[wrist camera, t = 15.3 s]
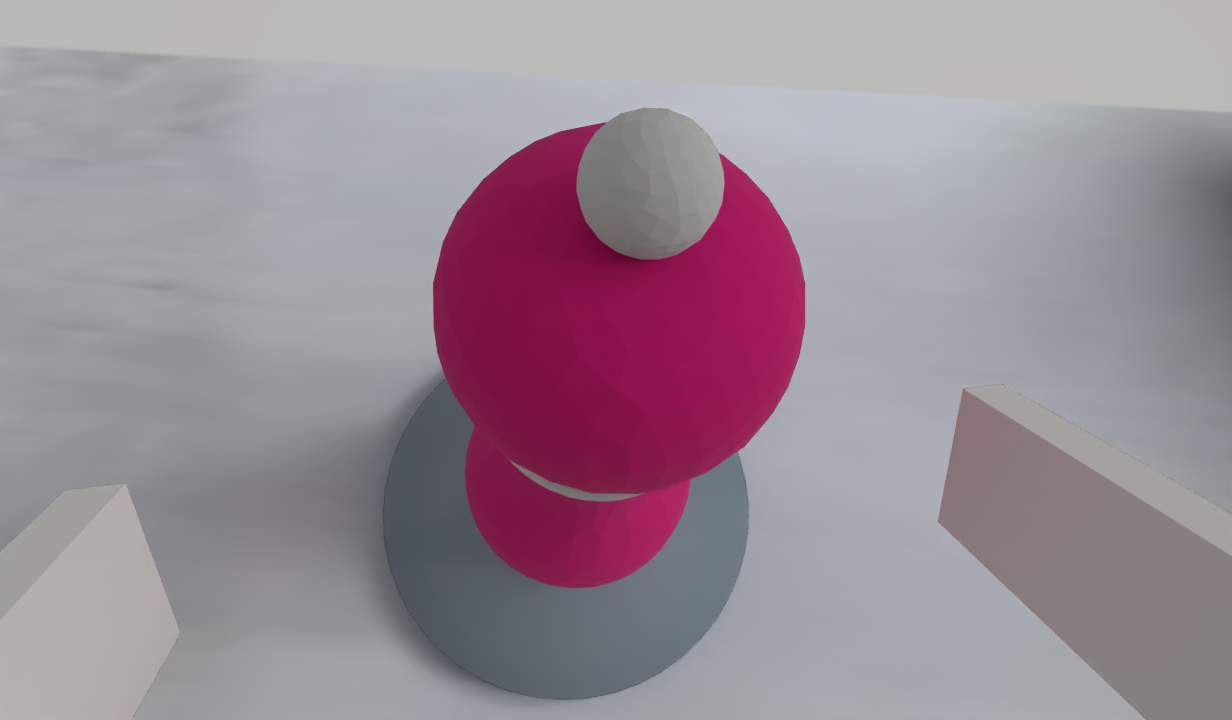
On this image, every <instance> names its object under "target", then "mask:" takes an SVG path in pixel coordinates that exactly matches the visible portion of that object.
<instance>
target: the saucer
mask: <svg viewBox="0 0 1232 720" xmlns="http://www.w3.org/2000/svg"><path fill="white" fill-rule="evenodd" d="M474 427H475V426H474V424H473V423H472V421H471V420H470V418H469V417H468V415H467V414H466V412H465V411H464V409H463V408H462V406H461V405H460V403H459V402H458V400H457V399H456V397H455V396H454V394H453V393H452V390H451V388H450V386H449V384H448V382H447V379H445V380H444V381H442V382H441V383H440V384H439V385H438V386H437V387H436V388H435V389H434V391H433V392H432V393H431V394H430V395H429V396H428V397H427V398H426V399H425V401H424V402H423V403H422V404H421V406H420V407H419V409H418V410H417V412H416V413H415V414H414V416H413V417H412V419H411V420H410V422H409V424H408V426H407V428H406V430H405V431H404V433H403V435H402V437H401V439H400V441H399V443H398V446H397V449H396V451H395V454H394V457H393V460H392V462H391V465H390V470H389V474H388V479H387V483H386V487H385V497H384V508H383V524H384V540H385V545H386V551H387V556H388V562H389V565H390V568H391V571H392V574H393V577H394V580H395V583H396V586H397V589H398V591H399V593H400V595H401V597H402V599H403V601H404V603H405V605H406V607H407V609H408V611H409V612H410V614H411V615H412V617H413V618H414V620H415V621H416V622H417V624H418V625H419V627H420V628H421V630H422V631H423V632H424V634H425V635H426V636H427V637H428V638H429V639H430V640H431V641H432V642H433V643H434V644H435V645H436V646H437V648H438V649H439V650H440V651H441V652H442V653H444V654H445V655H446V656H447V657H449V658H450V659H451V660H452V661H454V662H455V663H456V664H457V665H459V666H460V667H461V668H463V669H464V670H466V671H468V672H469V673H471V674H473V675H475V676H476V677H478V678H480V679H481V680H483V681H485V682H487V683H490V684H492V685H495V686H497V687H500V688H502V689H505V690H507V691H510V692H514V693H518V694H523V695H527V696H531V697H535V698H546V699H557V700H569V699H586V698H592V697H597V696H602V695H607V694H612V693H616V692H618V691H621V690H624V689H627V688H629V687H632V686H635V685H638V684H640V683H642V682H644V681H646V680H647V679H649V678H651V677H653V676H655V675H657V674H659V673H660V672H662V671H664V670H665V669H666V668H668V667H669V666H670V665H672V664H673V663H675V662H676V661H677V660H679V659H680V658H681V657H683V656H684V655H685V654H686V653H687V652H688V651H689V650H690V649H691V648H692V647H693V646H694V645H695V644H696V643H697V642H698V641H699V640H700V639H701V638H702V637H703V636H704V634H705V633H706V632H707V631H708V629H709V628H710V627H711V625H712V624H713V623H714V622H715V620H716V619H717V617H718V616H719V614H720V612H721V611H722V609H723V607H724V605H725V604H726V602H727V600H728V599H729V597H730V594H731V592H732V590H733V587H734V585H735V582H736V580H737V577H738V575H739V572H740V568H741V564H742V561H743V557H744V553H745V548H746V540H747V533H748V497H747V488H746V481H745V477H744V473H743V469H742V465H741V461H740V457H739V455H738V452H736V453H734V454H733V455H732V456H730V457H729V458H727V459H726V460H724V461H723V462H722V463H720V464H719V465H717V466H716V467H714V468H713V469H711V470H710V471H708V472H707V473H705V474H703V475H700V476H698V477H695V478H692V479H691V481H690V488H689V495H688V499H687V502H686V505H685V508H684V512H683V514H682V516H681V518H680V520H679V522H678V524H677V526H676V528H675V530H674V531H673V533H672V535H671V536H670V538H669V539H668V541H667V542H666V543H665V545H664V546H663V547H662V549H661V550H660V551H659V552H658V553H657V554H656V555H655V556H654V557H653V558H652V559H651V560H650V561H649V562H648V563H647V564H645V565H644V566H642V567H641V568H640V569H638V570H637V571H635V572H634V573H632V574H630V575H628V576H626V577H624V578H622V579H620V580H618V581H615V582H611V583H608V584H604V585H600V586H597V587H587V588H566V587H559V586H551V585H547V584H545V583H542V582H539V581H537V580H534V579H531V578H528V577H526V576H525V575H523V574H521V573H520V572H518V571H516V570H515V569H513V568H511V567H510V566H509V565H508V564H507V563H506V562H504V561H503V560H502V559H501V558H500V557H499V556H497V555H496V553H495V552H494V551H493V550H492V549H491V547H490V546H489V545H488V544H487V542H486V541H485V540H484V538H483V536H482V535H481V533H480V531H479V529H478V528H477V526H476V524H475V521H474V518H473V516H472V513H471V510H470V507H469V502H468V497H467V491H466V479H465V464H466V456H467V448H468V445H469V441H470V438H471V435H472V431H473V429H474Z"/></svg>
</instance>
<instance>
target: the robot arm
mask: <svg viewBox="0 0 1232 720" xmlns="http://www.w3.org/2000/svg"><path fill="white" fill-rule="evenodd" d="M938 522H939V523H940V524H941V525H942V526H943V527H944V528H945V529H946V530H947V531H948V532H949V533H950V534H951V535H953V536H954V537H955V538H956V539H957V540H958V541H959V542H960V543H961V544H962V545H963V546H964V547H965V548H966V549H967V550H968V551H969V552H970V553H971V554H973V555H974V556H975V557H976V558H977V559H978V560H979V561H980V562H981V563H982V564H983V565H984V566H985V567H986V568H987V569H988V570H989V571H990V572H991V573H993V574H994V575H995V576H996V577H997V578H998V579H999V580H1000V581H1001V582H1002V583H1003V584H1004V585H1005V586H1006V587H1007V588H1008V589H1009V590H1010V591H1011V592H1013V593H1014V594H1015V595H1016V596H1017V597H1018V598H1019V599H1020V600H1021V601H1022V602H1023V603H1024V604H1025V605H1026V606H1027V607H1028V608H1029V609H1030V610H1031V611H1032V612H1034V613H1035V614H1036V615H1037V616H1038V617H1039V618H1040V619H1041V620H1042V621H1043V622H1044V623H1045V624H1046V625H1047V626H1048V627H1049V628H1050V629H1051V630H1052V631H1054V632H1055V633H1056V634H1057V635H1058V636H1059V637H1060V638H1061V639H1062V640H1063V641H1064V642H1065V643H1066V644H1067V645H1068V646H1069V647H1070V648H1071V649H1072V650H1074V651H1075V652H1076V653H1077V654H1078V655H1079V656H1080V657H1081V658H1082V659H1083V660H1084V661H1085V662H1086V663H1087V664H1088V665H1089V666H1090V667H1091V668H1092V669H1094V670H1095V671H1096V672H1097V673H1098V674H1099V675H1100V676H1101V677H1102V678H1103V679H1104V680H1105V681H1106V682H1107V683H1108V684H1109V685H1110V686H1111V687H1112V688H1114V689H1115V690H1116V691H1117V692H1118V693H1119V694H1120V695H1121V696H1122V697H1123V698H1124V699H1125V700H1126V701H1127V702H1128V703H1129V704H1130V705H1131V706H1132V707H1133V708H1135V709H1136V710H1137V711H1138V712H1139V713H1140V714H1141V715H1142V716H1143V717H1144V718H1145V719H1146V720H1232V514H1231V513H1229V512H1228V511H1226V510H1224V509H1222V508H1220V507H1219V506H1217V505H1215V504H1213V503H1212V502H1210V501H1208V500H1206V499H1205V498H1203V497H1201V496H1199V495H1198V494H1196V493H1194V492H1192V491H1190V490H1189V489H1187V488H1185V487H1183V486H1182V485H1180V484H1178V483H1176V482H1175V481H1173V480H1171V479H1169V478H1167V477H1166V476H1164V475H1162V474H1160V473H1159V472H1157V471H1155V470H1153V469H1152V468H1150V467H1148V466H1146V465H1145V464H1143V463H1141V462H1139V461H1137V460H1136V459H1134V458H1132V457H1130V456H1129V455H1127V454H1125V453H1123V452H1122V451H1120V450H1118V449H1116V448H1115V447H1113V446H1111V445H1109V444H1107V443H1106V442H1104V441H1102V440H1100V439H1099V438H1097V437H1095V436H1093V435H1092V434H1090V433H1088V432H1086V431H1084V430H1083V429H1081V428H1079V427H1077V426H1076V425H1074V424H1072V423H1070V422H1069V421H1067V420H1065V419H1063V418H1062V417H1060V416H1058V415H1056V414H1054V413H1053V412H1051V411H1049V410H1047V409H1046V408H1044V407H1042V406H1040V405H1039V404H1037V403H1035V402H1033V401H1032V400H1030V399H1028V398H1026V397H1024V396H1023V395H1021V394H1019V393H1017V392H1016V391H1014V390H1012V389H1010V388H1009V387H1007V386H1005V385H1003V384H1000V385H992V386H983V387H974V388H965V389H963V392H962V397H961V403H960V408H959V413H958V418H957V424H956V429H955V434H954V440H953V445H952V450H951V455H950V461H949V466H948V471H947V476H946V482H945V487H944V492H943V498H942V503H941V508H940V513H939V519H938ZM179 634H180V631H179V628H178V625H177V622H176V620H175V617H174V614H173V611H172V609H171V606H170V603H169V600H168V598H167V595H166V592H165V590H164V587H163V584H162V581H161V579H160V576H159V573H158V570H157V568H156V565H155V562H154V559H153V557H152V554H151V551H150V548H149V546H148V543H147V540H146V538H145V535H144V532H143V529H142V527H141V524H140V521H139V518H138V516H137V513H136V510H135V507H134V505H133V502H132V499H131V497H130V494H129V491H128V488H127V486H126V483H123V484H115V485H106V486H97V487H88V488H79V489H70V490H65V491H64V492H63V493H62V494H61V495H60V496H58V497H57V498H56V499H55V500H54V501H53V502H52V503H51V504H50V505H49V506H48V507H47V508H46V509H45V510H44V511H43V512H42V513H41V514H40V515H39V516H37V517H36V518H35V519H34V520H33V521H32V522H31V523H30V524H29V525H28V526H27V527H26V528H25V529H24V530H23V531H22V532H21V533H20V534H19V535H17V536H16V537H15V538H14V539H13V540H12V541H11V542H10V543H9V544H8V545H7V546H6V547H5V548H4V549H3V550H2V551H1V552H0V720H132V718H133V716H134V714H135V713H136V711H137V709H138V707H139V706H140V704H141V702H142V700H143V698H144V697H145V695H146V693H147V691H148V690H149V688H150V686H151V684H152V682H153V681H154V679H155V677H156V675H157V674H158V672H159V670H160V668H161V666H162V665H163V663H164V661H165V659H166V658H167V656H168V654H169V652H170V650H171V649H172V647H173V645H174V643H175V641H176V640H177V638H178V636H179Z"/></svg>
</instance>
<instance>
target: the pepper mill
mask: <svg viewBox="0 0 1232 720" xmlns="http://www.w3.org/2000/svg"><path fill="white" fill-rule="evenodd" d="M433 309H434V332H435V339H436V346H437V353H438V356H439V359H440V362H441V365H442V368H443V371H444V374H445V377H446V379H447V382H448V384H449V386H450V388H451V390H452V393H453V394H454V396H455V397H456V399H457V400H458V402H459V403H460V405H461V406H462V408H463V409H464V411H465V412H466V414H467V415H468V417H469V418H470V420H471V421H472V423H473V424H474V426H475V427H474V429H473V431H472V435H471V438H470V441H469V445H468V448H467V456H466V464H465V479H466V491H467V497H468V502H469V507H470V510H471V513H472V516H473V518H474V521H475V524H476V526H477V528H478V529H479V531H480V533H481V535H482V536H483V538H484V540H485V541H486V542H487V544H488V545H489V546H490V547H491V549H492V550H493V551H494V552H495V553H496V555H497V556H499V557H500V558H501V559H502V560H503V561H504V562H506V563H507V564H508V565H509V566H510V567H511V568H513V569H515V570H516V571H518V572H520V573H521V574H523V575H525V576H526V577H528V578H531V579H534V580H537V581H539V582H542V583H545V584H547V585H551V586H559V587H566V588H587V587H597V586H600V585H604V584H608V583H611V582H615V581H618V580H620V579H622V578H624V577H626V576H628V575H630V574H632V573H634V572H635V571H637V570H638V569H640V568H641V567H642V566H644V565H645V564H647V563H648V562H649V561H650V560H651V559H652V558H653V557H654V556H655V555H656V554H657V553H658V552H659V551H660V550H661V549H662V547H663V546H664V545H665V543H666V542H667V541H668V539H669V538H670V536H671V535H672V533H673V531H674V530H675V528H676V526H677V524H678V522H679V520H680V518H681V516H682V514H683V512H684V508H685V505H686V502H687V499H688V495H689V488H690V481H691V479H692V478H695V477H698V476H700V475H703V474H705V473H707V472H708V471H710V470H711V469H713V468H714V467H716V466H717V465H719V464H720V463H722V462H723V461H724V460H726V459H727V458H729V457H730V456H732V455H733V454H734V453H736V452H737V451H739V450H740V449H742V448H743V447H744V446H745V445H746V444H747V443H748V442H749V441H750V439H751V438H752V437H753V436H754V435H755V434H756V432H757V431H758V430H759V429H760V428H761V427H762V425H763V424H764V423H765V422H766V421H767V419H768V418H769V417H770V416H771V414H772V413H773V412H774V410H775V408H776V407H777V405H778V403H779V402H780V400H781V398H782V396H783V395H784V393H785V391H786V389H787V388H788V386H789V383H790V380H791V377H792V375H793V372H794V369H795V366H796V364H797V361H798V358H799V355H800V349H801V344H802V339H803V334H804V329H805V282H804V277H803V272H802V268H801V263H800V258H799V255H798V253H797V251H796V248H795V246H794V243H793V241H792V239H791V236H790V234H789V231H788V229H787V227H786V226H785V224H784V222H783V221H782V219H781V217H780V216H779V214H778V213H777V211H776V209H775V208H774V206H773V205H772V203H771V201H770V200H769V198H768V197H767V196H766V195H765V194H764V193H763V192H762V191H761V189H760V188H759V187H758V186H757V185H756V184H755V183H754V182H753V181H752V180H751V179H750V178H749V176H748V175H747V174H746V173H744V172H743V171H742V170H741V169H739V168H738V167H737V166H736V165H734V164H733V163H732V162H731V161H729V160H728V159H727V158H726V157H724V156H723V155H721V154H720V153H718V151H717V149H716V147H715V146H714V144H713V142H712V140H711V139H710V137H709V136H708V134H707V133H706V132H705V131H704V130H703V129H702V128H701V127H700V126H698V125H697V124H696V123H695V122H694V121H693V120H692V119H690V118H688V117H685V116H683V115H681V114H678V113H676V112H673V111H671V110H669V109H660V108H642V109H638V110H634V111H630V112H625V113H621V114H620V115H618V116H616V117H615V118H613V119H612V120H610V121H609V122H605V123H600V124H595V125H590V126H585V127H580V128H575V129H570V130H565V131H560V132H557V133H555V134H553V135H550V136H548V137H545V138H543V139H540V140H538V141H535V142H533V143H532V144H530V145H529V146H527V147H525V148H524V149H522V150H520V151H519V152H517V153H516V154H514V155H512V156H511V157H509V158H508V159H507V160H506V161H504V162H503V163H502V164H501V165H500V166H499V167H497V168H496V169H495V170H494V171H493V172H491V173H490V174H489V175H488V176H487V177H486V178H484V180H483V181H482V182H481V183H480V184H479V185H478V187H477V188H476V189H475V190H474V192H473V193H472V194H471V195H470V197H469V198H468V199H467V201H466V202H465V203H464V204H463V206H462V207H461V208H460V210H459V211H458V212H457V214H456V216H455V218H454V220H453V222H452V224H451V226H450V228H449V231H448V233H447V235H446V237H445V239H444V241H443V245H442V249H441V253H440V257H439V261H438V265H437V270H436V274H435V278H434V282H433Z"/></svg>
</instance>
